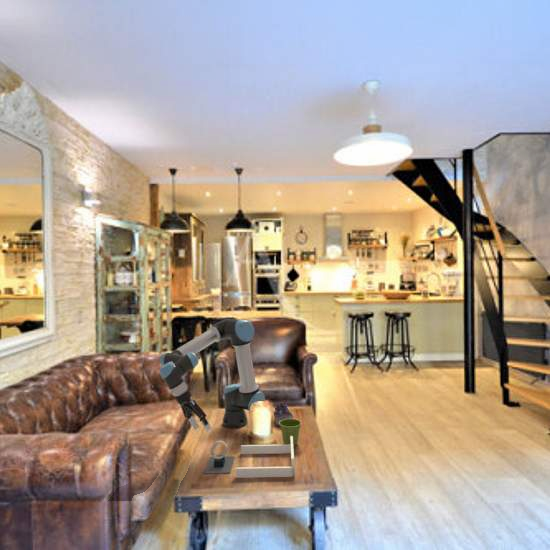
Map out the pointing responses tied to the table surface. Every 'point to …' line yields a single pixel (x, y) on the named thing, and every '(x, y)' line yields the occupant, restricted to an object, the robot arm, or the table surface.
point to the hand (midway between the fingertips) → (203, 429)
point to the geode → (282, 413)
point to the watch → (218, 459)
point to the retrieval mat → (219, 470)
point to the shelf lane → (267, 471)
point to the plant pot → (290, 430)
